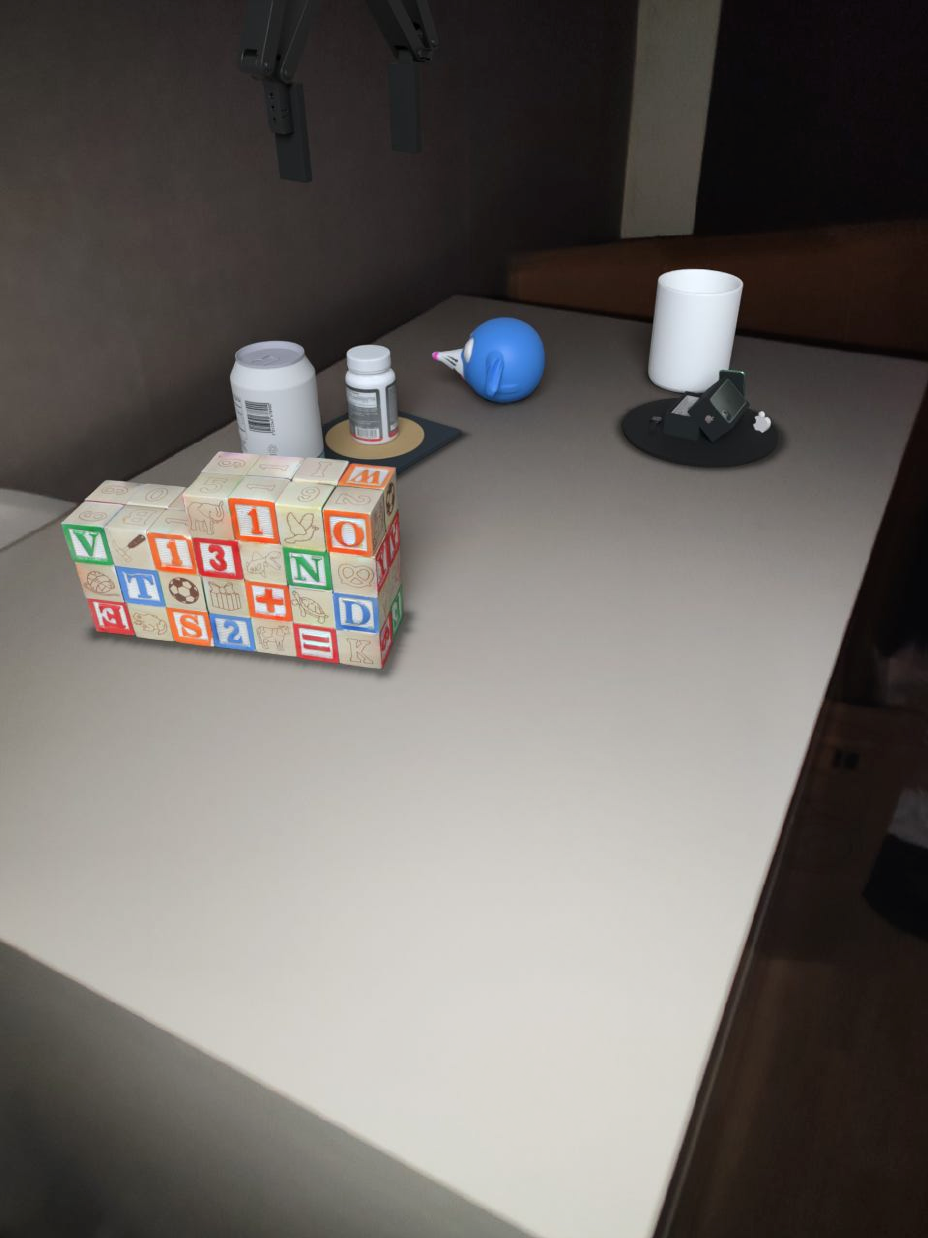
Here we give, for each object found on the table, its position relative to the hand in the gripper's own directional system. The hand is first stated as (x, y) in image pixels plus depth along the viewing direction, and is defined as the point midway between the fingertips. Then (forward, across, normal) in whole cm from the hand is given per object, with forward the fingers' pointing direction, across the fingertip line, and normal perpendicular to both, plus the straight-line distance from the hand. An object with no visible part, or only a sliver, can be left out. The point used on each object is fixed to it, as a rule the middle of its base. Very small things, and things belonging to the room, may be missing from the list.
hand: (354, 165), depth 74 cm
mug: (+25, +33, -18) cm, 45 cm away
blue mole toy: (+25, +15, -3) cm, 29 cm away
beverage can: (+24, -12, 0) cm, 27 cm away
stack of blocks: (+25, -28, -12) cm, 39 cm away
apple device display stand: (+25, +20, -25) cm, 40 cm away
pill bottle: (+24, 0, 0) cm, 24 cm away
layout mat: (+25, -6, 0) cm, 25 cm away
